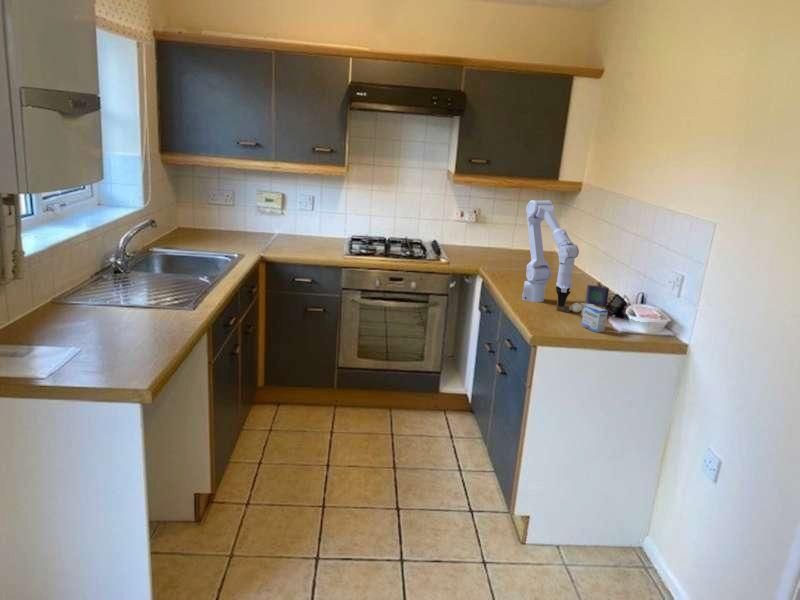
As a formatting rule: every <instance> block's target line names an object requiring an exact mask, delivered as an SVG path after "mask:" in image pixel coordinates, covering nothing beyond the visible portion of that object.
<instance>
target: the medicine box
mask: <svg viewBox="0 0 800 600" xmlns="http://www.w3.org/2000/svg"><path fill="white" fill-rule="evenodd" d="M608 313H609V310H607V309H605V308H603V307H601V306H598V305H595V304H593V305H586V306H585V307H584V313H583V316H582V320H581V326H582V328H584V329H586V330H588V331H592V332H594V333H603V332H605V330H606V324H607V317H608Z"/></svg>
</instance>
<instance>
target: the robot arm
mask: <svg viewBox="0 0 800 600" xmlns="http://www.w3.org/2000/svg"><path fill="white" fill-rule="evenodd" d="M554 210H555V206H554V205H553V202H552V201H551V200H549V199H548V200H536V199H535V200H533V199H531V200H530V201H529V202H528V203H527V205H526V206H525V211H526V220H527V221H526V222H527V223H526V225H527V231H528V241H529V243H528V244H529V251H530V261H529V262H528V264H526V271H525V272H526V273H525V277H526V279H527V280H524V284H523V292H522V294H521V295H522V296H521V297H522V301H527V302H533V303H543V302H544V301H545V295H546V294H545V293H546V286H547V283H548V281H549V280H551V277H552V270H551V268H550V264H549V262H548V261H547V260H546V259H545V257H544V248H543V247H544V246H543V237H542V229H541V228H542V227H541V223H542V222H543V221H544V220H545V222H546V223H547V226H549V228H550V230H551V231H552V236H551V237H552V239H553V241H554V242H555V245H556V247H557V248H558V250H557V255H558V263H559V265H558V272H557V279H556V283H555V289H556V290H555V291H556V294H557V300H558V306H560V307H564V305H565V306H566V301H567V300H568V299H567V298H568V297H569V295H570V294H571V291H570V290H571V288H574V286H575V285H574V284H572V281H573V273H574V265H575V259H576V258H578V256H579V253H580V250H579V247H578V245H577V244H576V243H574V242H572V240H571V238H570V237H569V235H568V233H567V230H565V229H564V228H561V226H560V224H559V221H558V218H557V217H556V215H555V211H554Z"/></svg>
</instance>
